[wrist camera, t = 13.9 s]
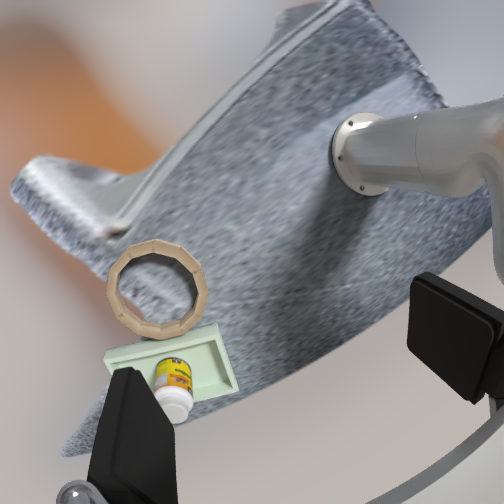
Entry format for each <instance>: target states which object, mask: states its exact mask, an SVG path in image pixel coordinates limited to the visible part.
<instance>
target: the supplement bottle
mask: <svg viewBox="0 0 504 504" xmlns="http://www.w3.org/2000/svg"><path fill="white" fill-rule="evenodd" d="M153 394H154V396H155V397H156V399H157V401H158V402H159V404H160V406H161V407H162V409H163V411H164V412H165V414H166V415H167V417H168V418H169V420H170V422H171V423H173V424H177V423H181V422H184V421H185V420H186V419H187V418H188V412H189V411H190V410H191V409H192V407H193V387H192V371H191V367H190V365H189V364H188V362H187V361H185V360H184V359H182V358H180V357H176V356H168V357H165V358H163V359H161V360H160V361H159V362H158V364H157V366H156V373H155V381H154V391H153Z"/></svg>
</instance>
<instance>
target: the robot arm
mask: <svg viewBox="0 0 504 504" xmlns="http://www.w3.org/2000/svg"><path fill="white" fill-rule="evenodd" d="M348 124H349V125H348ZM332 156H333V162H334V165H335V168H336V171H337V173H338V175H339V177H340V178H341V179H342V181H343V182H344V183H345V184H346V185H347V186H348V187H349V188H350V189H352V190H353V191H355V192H357V193H360V194H363V195H368V196H375V195H380V194H382V193H384V192H386V191H388V190H389V189H390V188H394V189H401V190H407V191H414V192H420V193H426V194H432V195H437V196H443V197H449V198H461V197H465V196H468V195H470V194H471V193H473V192H474V191H476V190H477V189H478V188H479V187H480V186H481V185H482V184H483V183H484V182H485V181H486V182H487V185H488V190H489V197H490V202H491V212H492V229H493V255H494V266H495V270H496V273H497V276H498V278H499V279H500V281H501V282H502V283H503V285H504V96H500V97H496V98H493V99H490V100H486V101H482V102H478V103H473V104H469V105H463V106H457V107H451V108H444V109H437V110H432V111H425V112H418V113H412V114H406V115H400V116H395V117H389V118H384V119H383V118H382V117H380V116H378V115H376V114H373V113H369V112H361V113H356V114H353V115H351V116H349V117H347V118H346V119H345V120H344V121H343V122H342V123H341V124H340V125H339V127H338V128H337V130H336V132H335V135H334V138H333V143H332ZM338 157H339V160H338ZM407 346H408V348H409V350H410V351H411V352H412V353H413V354H414V355H415V356H416V357H417V358H419V359H420V360H421V361H422V362H423V363H424V364H425V365H427V366H428V367H429V368H430V369H431V370H432V371H433V372H435V374H437V375H438V376H439V377H440V378H441V379H442V380H443V381H445V382H446V383H447V384H448V385H449V386H450V387H451V388H452V389H453V390H454V391H456V392H457V393H458V394H459V395H460V396H461V397H462V398H463V399H465V400H467V401H468V400H469V401H470V402H471V403H472V404H474V405H475V404H476V403H477V402H478V401H480V400H481V399H482V398H483V397H484V395H485V392H486V393H487V394H488V395H489V405H490V416H491V418H490V419H489V420H488V421H487V422H486V423H484V424H483V425H482V426H481V427H480V428H479V429H478V430H477V431H476V432H474V433H473V434H472V435H471V436H469V437H468V438H467V439H466V440H465V441H463V442H462V443H461V444H460V445H458V446H457V447H456V448H455V449H453V450H452V451H451V452H449V453H448V454H447V455H445V456H444V457H443V458H441V459H440V460H438V461H437V462H436V463H434V464H433V465H431V466H430V467H428V468H427V469H426V470H424V471H422V472H421V473H419V474H418V475H416V476H414V477H413V478H411V479H410V480H408V481H406V482H405V483H403V484H401V485H399V486H398V487H396V488H394V489H392V490H390V491H389V492H387V493H385V494H383V495H381V496H379V497H377V498H375V499H373V500H371V501H369V502H367V503H365V504H504V311H503V310H501V309H499V308H497V307H495V306H494V305H491V304H490V303H488V302H486V301H484V300H483V299H481V298H479V297H477V296H475V295H473V294H471V293H469V292H467V291H466V290H464V289H462V288H460V287H458V286H456V285H454V284H452V283H450V282H448V281H446V280H444V279H442V278H440V277H438V276H436V275H434V274H432V273H430V272H424V273H422V274H420V275H418V276H415V277H414V278H413V281H412V283H411V285H410V306H409V323H408V335H407ZM56 504H178V496H177V481H176V462H175V432H174V428H173V425H172V423H171V422H170V420H169V418H168V417H167V415H166V414H165V412H164V411H163V409H162V407H161V406H160V404H159V402H158V401H157V399H156V397H155V396H154V394H153V392H152V391H151V389H150V387H149V385H148V384H147V382H146V380H145V378H144V377H143V375H142V373H141V371H140V370H135V369H134V368H133V367H131V366H130V367H125V368H119V369H115V370H114V372H113V375H112V378H111V382H110V385H109V389H108V393H107V396H106V400H105V404H104V407H103V411H102V414H101V416H100V420H99V424H98V428H97V432H96V437H95V441H94V446H93V450H92V455H91V460H90V465H89V470H88V476H87V481H84V480H75V481H71V482H69V483H67V484H66V485H64V486H63V487H62V488H61V490H60V491H59V493H58V495H57V499H56Z"/></svg>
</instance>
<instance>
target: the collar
mask: <svg viewBox="0 0 504 504" xmlns="http://www.w3.org/2000/svg"><path fill="white" fill-rule="evenodd" d="M149 253H157V254H161V255H165V256H169V257H173V258H176V259H177V260H178V261H179V262H181V263H182V264H183V265H184V266H185V267H186V268H187V269H188V270H189V271H190V272H191V273H192V274H193V276H194V280H195V283H196V286H197V289H198V292H197V296H196V299H195V303H194V307H193V308H192V309H191V310H190V311H189V312H188V313H187V314H185V315H184V316H183V317H182V318H181V319H180V320H178V321H174V322H170V323H166V324H162V325H160V324H155V323H151V322H147V321H142V320H140V319H139V318H138V317H137V316H135V315H134V314H133V313H132V312H131V311H129V310H128V309H127V308H126V307H125V305H124V302H123V300H122V297H121V295H120V292H119V289H118V286H119V280H120V273H121V270H122V269H123V268H124V267H125V265H126V264H127V263H128V262H129V261H130V260H131V259H132V258H135V257H139V256H142V255H146V254H149ZM106 296H107V298H108V300H109V303H110V305H111V308H112V310H113V312H114V315H115V317H116V318H117V319H118V320H119V321H120V322H121V323H122V324H124V325H125V326H126V327H127V328H129V329H130V330H131V331H132V332H134V333H135V334H137V335H141V336H145V337H149V338H154V339H158V340H160V339H161V340H163V339H167V338H171V337H175V336H179V335H183V334H185V333H186V332H187V331H188V330H189V329H191V328H192V327H193V326H194V325H195V324H196V323H197V322H198V321H199V320H200V319H201V318H202V316H203V313H204V309H205V305H206V302H207V298H208V288H207V284H206V281H205V277H204V274H203V271H202V267H201V264H200V263H199V262H198V261H197V260H196V259H195V258H194V257H193V256H192V255H191V254H190V253H189V252H188V251H187V250H185V249H184V248H183V247H182V246H181V245H178V244H174V243H170V242H166V241H162V240H158V239H152V240H148V241H145V242H141V243H138V244H135V245H131V246H129V247H128V248H127V250H126V251H125V252H124V253H123V254H122V255H121V256H120V258H119V259H118V260H117V261H116V262H115V263H114V265H113V266H112V267H111V268H110V270H109V276H108V283H107V291H106Z"/></svg>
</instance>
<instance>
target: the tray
mask: <svg viewBox="0 0 504 504" xmlns="http://www.w3.org/2000/svg"><path fill="white" fill-rule="evenodd" d="M168 356H176V357H180V358H182V359H184V360H185V361H187V362H188V364H189V365H190V367H191V371H192V387H193V402H197V401H201V400H206V399H210V398H214V397H218V396H222V395H226V394H230V393H233V392H237V391H239V388H238V384H237V380H236V377H235V374H234V372H233V369H232V366H231V363H230V360H229V357H228V354H227V351H226V348H225V345H224V342H223V339H222V336H221V333H220V330H219V327H218V324H217V323H214V324H210V325H207V326H203V327H199V328H195V329H191V330H188V331H187V332H186V333H185V334H183V335H179V336H175V337H171V338H167V339H163V340H161V339H160V340H158V339H151V340H147V341H142V342H138V343H133V344H129V345H124V346H120V347H115V348H110V349H107V351H106V354H105V356H104V359H103V361H104V363H105V365H106V366H107V368H108V370H109V372H110V373H111V375H113V372H114V370H115V369H119V368H125V367H130V366H131V367H133V368H134V369H135V370H140V371H141V373H142V375H143V377H144V378H145V380H146V382H147V384H148V385H149V387H150V389H151V391H152V392H153V391H154V381H155V373H156V366H157V364H158V362H159V361H160V360H161V359H163V358H165V357H168Z"/></svg>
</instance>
